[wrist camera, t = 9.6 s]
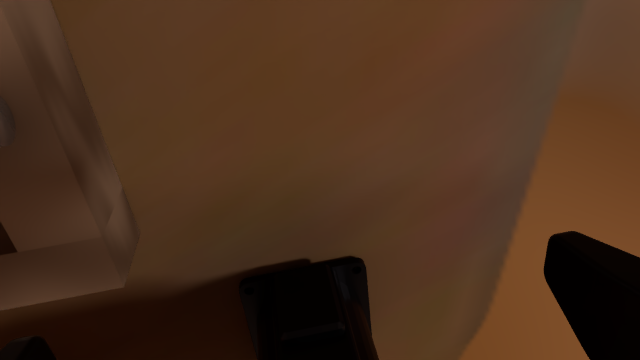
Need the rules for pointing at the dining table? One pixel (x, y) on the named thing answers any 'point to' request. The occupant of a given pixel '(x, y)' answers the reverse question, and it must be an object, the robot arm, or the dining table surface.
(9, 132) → the hook rod
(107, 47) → the dining table surface
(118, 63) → the dining table surface
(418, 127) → the dining table surface
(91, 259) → the grey flat frame
